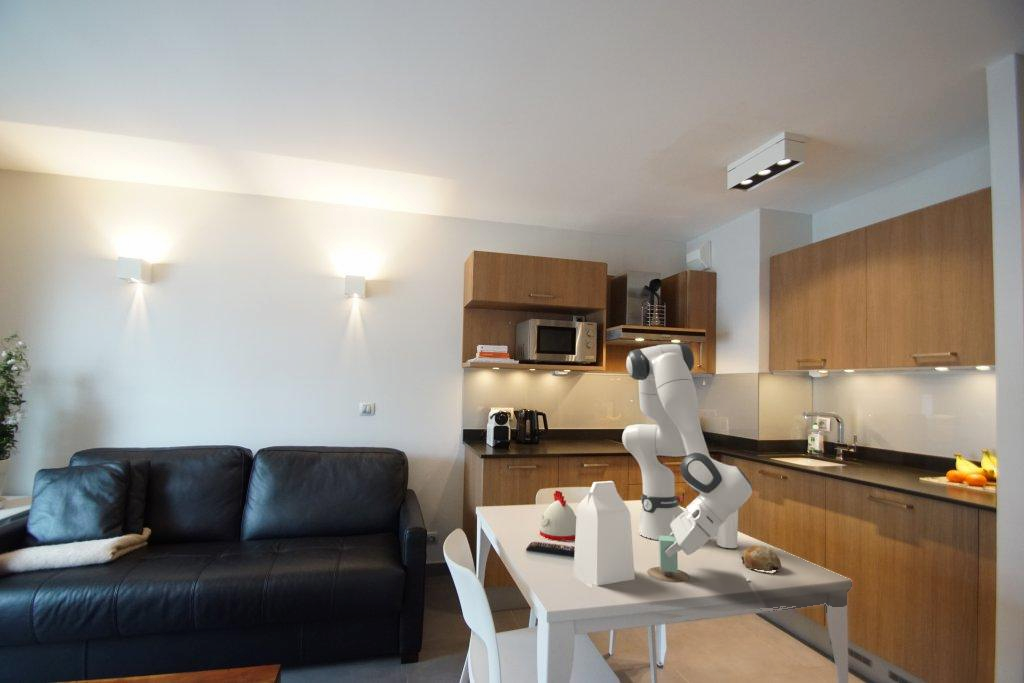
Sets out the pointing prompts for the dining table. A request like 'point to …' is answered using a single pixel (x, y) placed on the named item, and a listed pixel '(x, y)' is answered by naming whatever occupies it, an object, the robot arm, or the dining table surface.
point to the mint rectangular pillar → (665, 561)
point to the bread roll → (760, 558)
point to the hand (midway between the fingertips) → (665, 550)
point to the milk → (603, 537)
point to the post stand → (667, 575)
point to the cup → (728, 532)
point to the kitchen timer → (558, 520)
